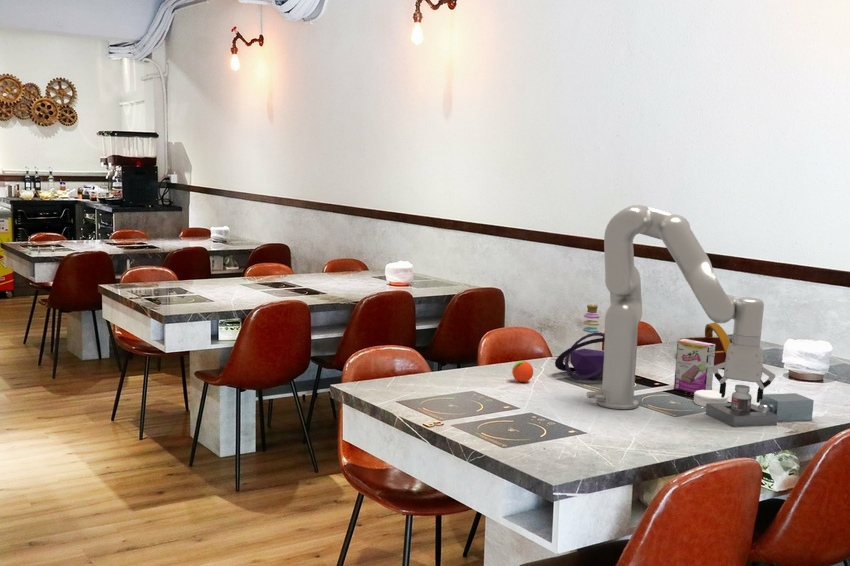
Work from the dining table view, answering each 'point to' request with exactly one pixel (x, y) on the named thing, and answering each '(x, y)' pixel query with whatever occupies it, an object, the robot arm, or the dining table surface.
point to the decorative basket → (715, 341)
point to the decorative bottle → (584, 352)
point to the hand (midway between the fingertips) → (740, 399)
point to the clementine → (522, 371)
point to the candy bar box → (694, 365)
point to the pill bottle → (741, 399)
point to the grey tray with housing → (765, 411)
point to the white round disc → (709, 397)
